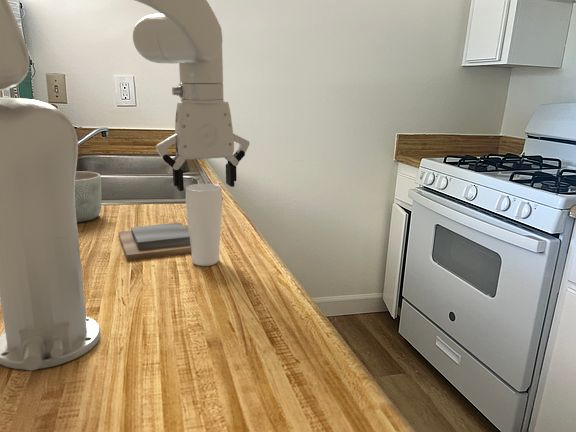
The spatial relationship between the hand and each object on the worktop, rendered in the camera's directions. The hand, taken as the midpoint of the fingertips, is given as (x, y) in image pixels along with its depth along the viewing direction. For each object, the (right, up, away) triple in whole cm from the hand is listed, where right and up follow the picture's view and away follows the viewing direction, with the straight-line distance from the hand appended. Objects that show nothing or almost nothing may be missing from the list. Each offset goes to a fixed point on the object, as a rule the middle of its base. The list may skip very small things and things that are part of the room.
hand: (205, 187), depth 90 cm
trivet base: (-12, -11, +13) cm, 21 cm away
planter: (-38, -6, +31) cm, 49 cm away
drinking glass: (-1, -15, +4) cm, 15 cm away
